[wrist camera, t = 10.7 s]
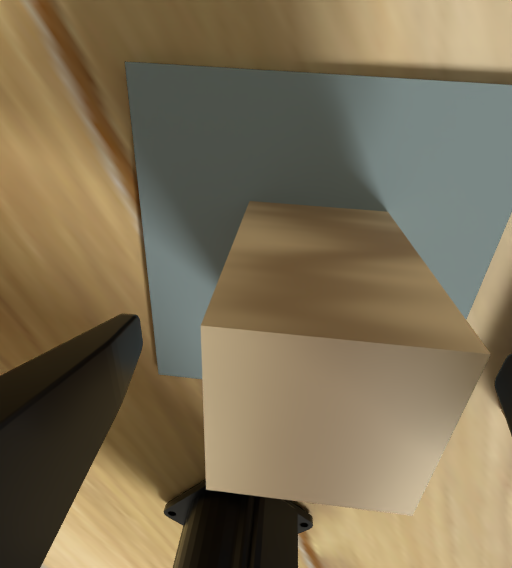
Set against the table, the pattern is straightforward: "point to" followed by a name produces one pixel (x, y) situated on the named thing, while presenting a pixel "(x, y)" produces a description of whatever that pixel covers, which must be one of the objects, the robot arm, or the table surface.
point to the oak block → (331, 361)
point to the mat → (309, 173)
